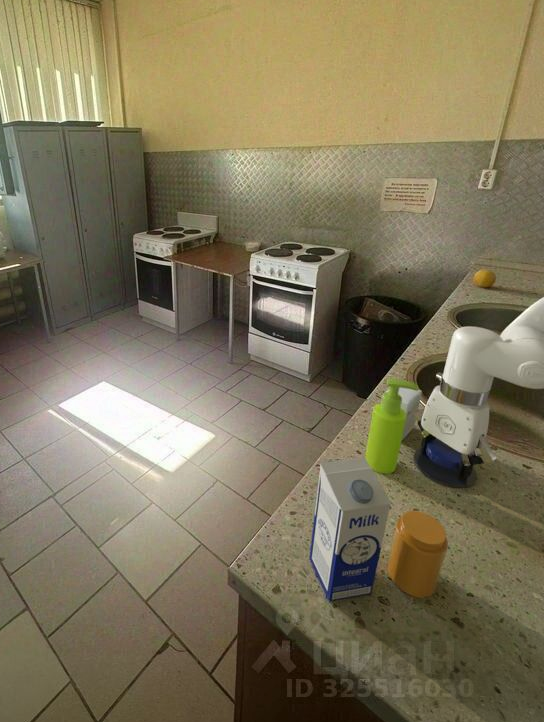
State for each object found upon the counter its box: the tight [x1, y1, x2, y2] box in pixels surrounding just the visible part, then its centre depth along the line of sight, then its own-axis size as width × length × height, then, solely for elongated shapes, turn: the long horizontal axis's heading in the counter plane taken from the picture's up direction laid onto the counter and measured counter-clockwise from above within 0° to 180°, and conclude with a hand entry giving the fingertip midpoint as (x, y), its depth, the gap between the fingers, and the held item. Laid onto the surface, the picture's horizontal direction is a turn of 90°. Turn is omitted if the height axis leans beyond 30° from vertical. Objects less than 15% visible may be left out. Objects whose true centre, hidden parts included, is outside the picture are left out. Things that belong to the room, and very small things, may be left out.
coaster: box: [412, 447, 477, 489], centre depth 81 cm, size 11×11×1 cm
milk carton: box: [309, 456, 392, 602], centre depth 58 cm, size 7×7×20 cm
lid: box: [426, 438, 463, 469], centre depth 80 cm, size 7×7×2 cm
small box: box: [380, 388, 423, 442], centre depth 91 cm, size 8×6×10 cm
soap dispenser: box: [364, 378, 420, 475], centre depth 79 cm, size 6×7×20 cm
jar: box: [386, 510, 449, 599], centre depth 59 cm, size 7×7×10 cm
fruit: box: [472, 269, 497, 288], centre depth 183 cm, size 9×8×8 cm
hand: (443, 463), depth 81 cm, fingers closed on lid, 6 cm apart
